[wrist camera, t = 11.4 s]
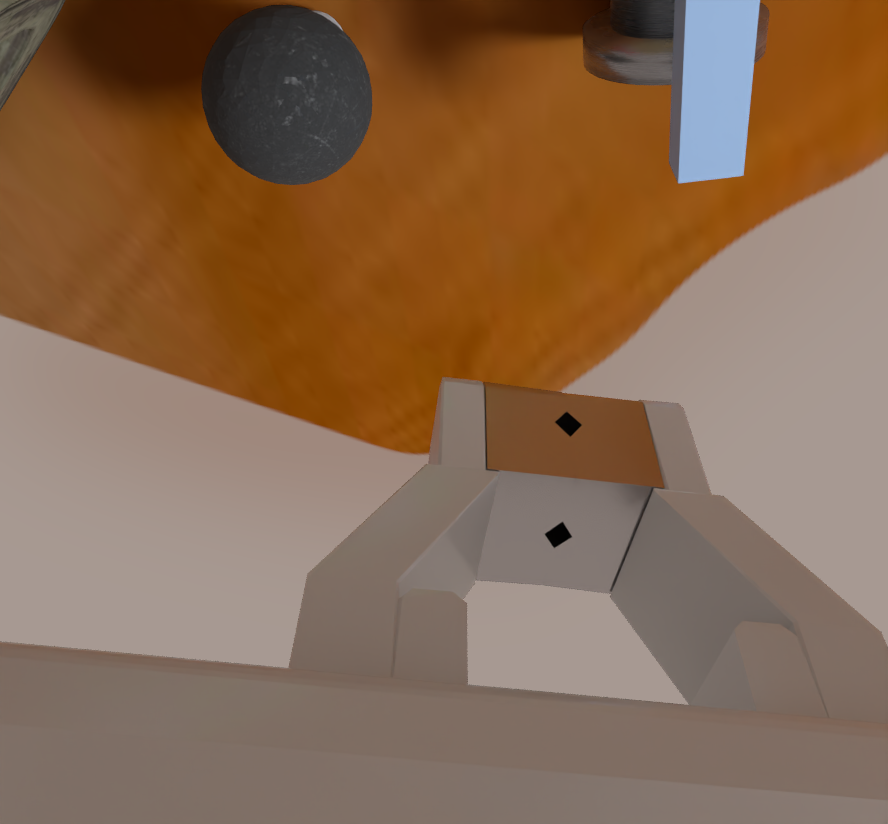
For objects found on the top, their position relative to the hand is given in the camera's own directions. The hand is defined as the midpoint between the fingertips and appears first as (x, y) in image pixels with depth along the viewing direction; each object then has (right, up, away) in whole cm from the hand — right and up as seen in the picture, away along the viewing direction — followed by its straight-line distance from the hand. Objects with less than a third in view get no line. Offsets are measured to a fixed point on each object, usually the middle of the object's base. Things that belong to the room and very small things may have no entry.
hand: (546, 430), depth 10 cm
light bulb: (-6, +15, +23) cm, 28 cm away
